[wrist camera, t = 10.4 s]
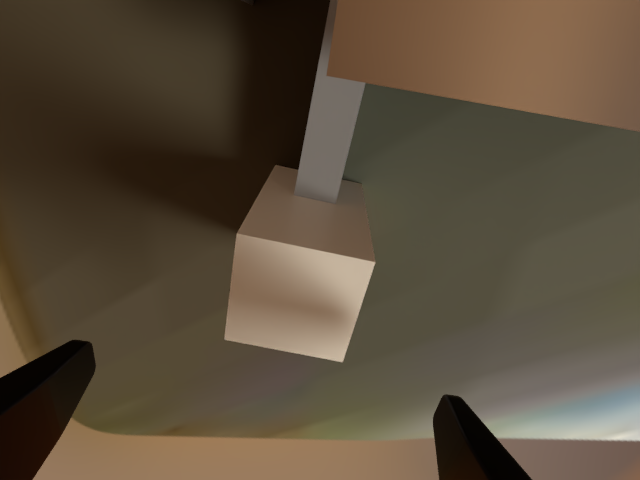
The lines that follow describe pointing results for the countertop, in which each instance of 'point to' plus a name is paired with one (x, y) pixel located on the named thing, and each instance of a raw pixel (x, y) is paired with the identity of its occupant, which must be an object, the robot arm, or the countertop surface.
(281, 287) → the cube on a stick
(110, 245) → the countertop surface
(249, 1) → the token
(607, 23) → the brown wooden slab
